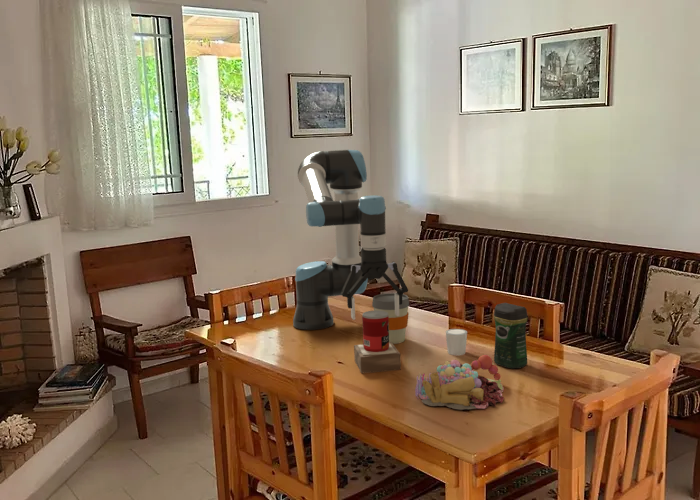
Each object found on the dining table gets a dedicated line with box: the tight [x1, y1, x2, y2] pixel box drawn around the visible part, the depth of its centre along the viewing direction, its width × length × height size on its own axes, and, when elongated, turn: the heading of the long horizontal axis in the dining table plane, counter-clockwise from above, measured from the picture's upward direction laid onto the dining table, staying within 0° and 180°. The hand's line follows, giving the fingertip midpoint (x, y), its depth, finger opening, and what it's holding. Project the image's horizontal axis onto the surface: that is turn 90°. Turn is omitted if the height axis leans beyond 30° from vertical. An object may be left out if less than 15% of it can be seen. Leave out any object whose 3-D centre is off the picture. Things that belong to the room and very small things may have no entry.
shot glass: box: [445, 328, 468, 356], centre depth 219 cm, size 7×7×7 cm
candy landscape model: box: [414, 354, 505, 410], centre depth 184 cm, size 25×24×9 cm
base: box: [353, 342, 402, 374], centre depth 210 cm, size 12×12×5 cm
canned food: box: [361, 310, 389, 352], centre depth 208 cm, size 8×8×11 cm
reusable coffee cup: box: [371, 292, 410, 345], centre depth 234 cm, size 13×13×15 cm
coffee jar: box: [493, 302, 528, 369], centre depth 205 cm, size 10×8×19 cm
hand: (375, 316), depth 208 cm, fingers open, 13 cm apart
